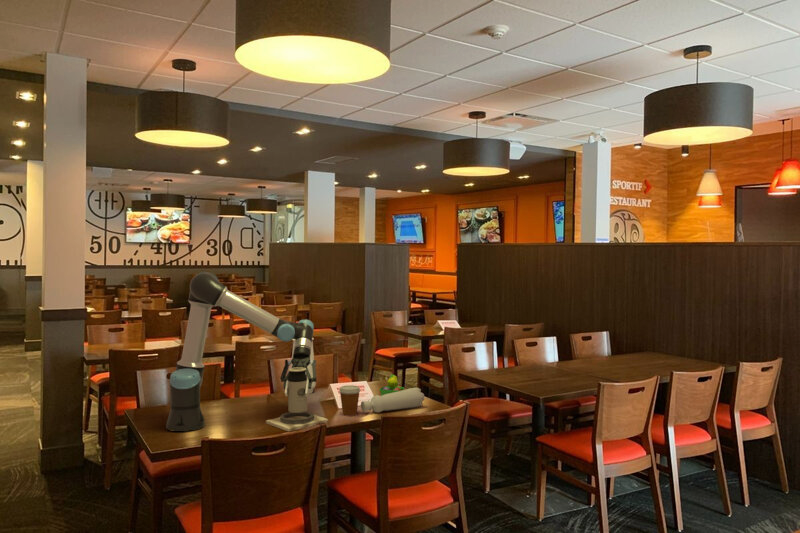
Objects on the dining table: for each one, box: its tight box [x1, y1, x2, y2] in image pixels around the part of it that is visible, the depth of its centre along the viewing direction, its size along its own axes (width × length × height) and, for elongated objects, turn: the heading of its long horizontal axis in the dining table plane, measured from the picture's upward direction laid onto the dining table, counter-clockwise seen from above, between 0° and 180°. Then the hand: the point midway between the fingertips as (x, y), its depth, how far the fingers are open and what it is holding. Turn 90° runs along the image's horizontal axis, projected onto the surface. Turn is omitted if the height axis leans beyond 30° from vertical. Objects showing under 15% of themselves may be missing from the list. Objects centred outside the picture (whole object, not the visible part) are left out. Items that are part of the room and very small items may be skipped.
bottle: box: [360, 387, 425, 414], centre depth 282 cm, size 9×9×30 cm
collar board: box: [265, 411, 329, 433], centre depth 262 cm, size 20×17×3 cm
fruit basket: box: [379, 374, 405, 396], centre depth 305 cm, size 11×9×11 cm
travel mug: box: [287, 367, 308, 413], centre depth 262 cm, size 8×8×18 cm
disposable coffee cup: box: [338, 384, 361, 416], centre depth 276 cm, size 10×10×12 cm
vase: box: [290, 337, 317, 395], centre depth 318 cm, size 13×13×28 cm
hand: (296, 394), depth 258 cm, fingers closed on travel mug, 8 cm apart
